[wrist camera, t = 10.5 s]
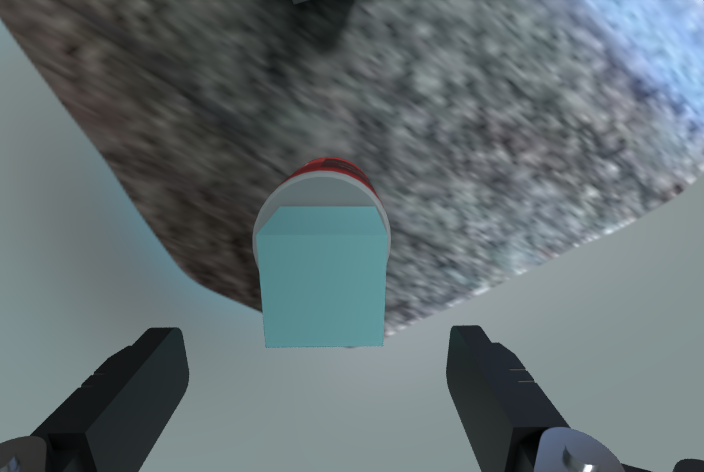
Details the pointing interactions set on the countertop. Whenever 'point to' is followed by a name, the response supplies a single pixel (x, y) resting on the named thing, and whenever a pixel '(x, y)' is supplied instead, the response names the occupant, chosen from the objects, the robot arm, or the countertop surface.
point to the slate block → (298, 1)
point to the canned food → (323, 192)
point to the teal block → (323, 276)
